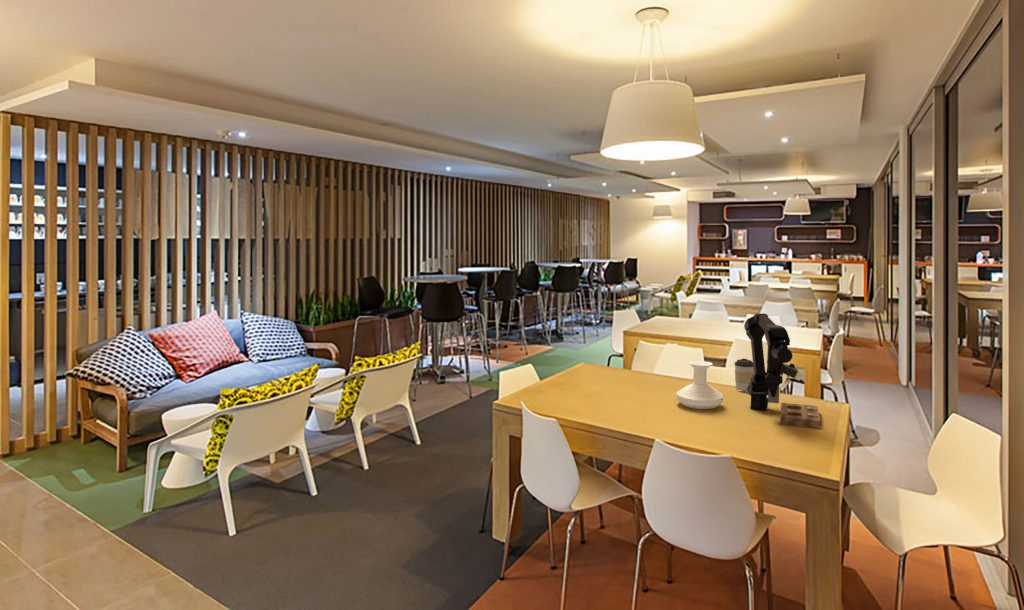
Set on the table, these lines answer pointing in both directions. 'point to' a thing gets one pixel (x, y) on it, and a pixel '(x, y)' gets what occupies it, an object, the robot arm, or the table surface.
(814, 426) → the socket board
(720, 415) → the table surface
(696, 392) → the candle holder
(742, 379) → the coffee cup
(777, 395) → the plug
